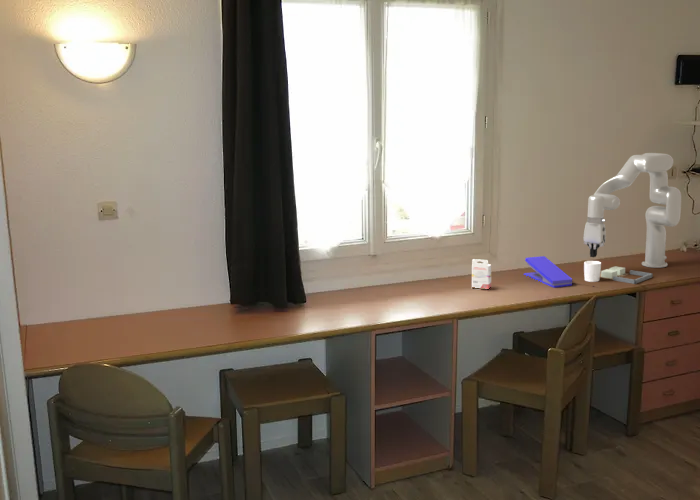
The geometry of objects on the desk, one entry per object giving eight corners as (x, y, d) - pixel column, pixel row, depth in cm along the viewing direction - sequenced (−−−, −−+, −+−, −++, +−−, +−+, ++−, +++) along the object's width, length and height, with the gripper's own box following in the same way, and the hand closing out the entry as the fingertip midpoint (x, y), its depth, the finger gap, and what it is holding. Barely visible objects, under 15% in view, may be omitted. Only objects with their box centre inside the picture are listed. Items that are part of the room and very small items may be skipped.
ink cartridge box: (491, 288, 349) (491, 258, 346) (488, 290, 344) (488, 260, 341) (474, 286, 353) (474, 256, 350) (471, 288, 348) (471, 259, 345)
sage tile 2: (614, 272, 367) (615, 266, 366) (625, 273, 363) (625, 267, 362) (609, 274, 363) (609, 268, 363) (619, 275, 359) (619, 269, 359)
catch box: (630, 275, 363) (630, 270, 362) (652, 279, 355) (652, 273, 354) (612, 282, 352) (613, 276, 351) (635, 286, 343) (635, 280, 343)
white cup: (597, 285, 348) (598, 264, 346) (581, 283, 352) (581, 263, 350) (602, 281, 354) (603, 261, 352) (586, 279, 358) (587, 260, 356)
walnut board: (604, 272, 372) (604, 269, 372) (629, 276, 362) (629, 273, 362) (588, 277, 362) (588, 275, 362) (613, 282, 352) (613, 279, 352)
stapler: (541, 273, 374) (542, 255, 372) (573, 286, 348) (574, 266, 346) (522, 275, 371) (522, 257, 369) (552, 288, 345) (553, 268, 343)
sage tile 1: (606, 274, 362) (607, 269, 361) (617, 276, 358) (617, 270, 357) (601, 276, 358) (601, 271, 357) (611, 278, 354) (611, 272, 353)
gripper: (613, 221, 355) (610, 257, 359) (585, 218, 366) (583, 253, 370) (605, 223, 350) (603, 260, 354) (577, 219, 361) (575, 255, 365)
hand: (593, 256), depth 362 cm, fingers closed
